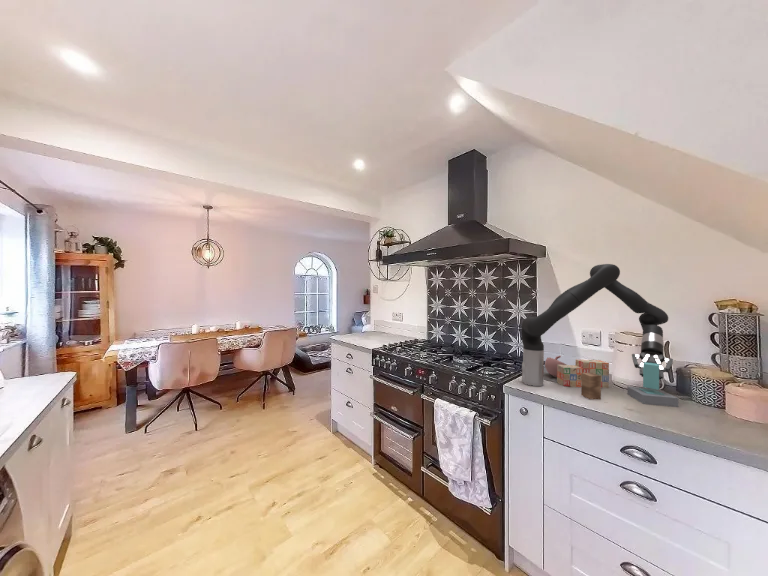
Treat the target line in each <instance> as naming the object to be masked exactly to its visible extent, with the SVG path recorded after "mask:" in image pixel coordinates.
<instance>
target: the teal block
mask: <svg viewBox="0 0 768 576" xmlns="http://www.w3.org/2000/svg"><path fill="white" fill-rule="evenodd" d="M642 388H651V389H656V390H659V389H660V380H659V364H656V363H648V362H646V363H645V362H644V363H643V377H642Z"/></svg>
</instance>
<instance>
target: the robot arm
mask: <svg viewBox="0 0 768 576" xmlns="http://www.w3.org/2000/svg"><path fill="white" fill-rule="evenodd" d="M620 275H621V270H620V268H619V267H618V266H617V265H616V264H613V263H603V264H602V263H601V264H597V265H594V266H593V267H591V269H590V270H589V277H590V278H588V279H586V280H584V281H582V282H580V283H578V284H576V285H574V286H572V287H570V288H568V289H567V290H565V291H564V292H562V293H561V294H560V295H558V296H557V297H556V298H555V299H554V300H553V301H552V302H551V304H550V306H549V307H548V308H547V309H546V310H545V311H543V312H542V313H541V314H539V315H537V316H528V317H526V318H524V319H523V321H522V324H521V342H522V347H523V352H522V353H523V355H522V360H523V361H522V362H521V381H522V383H523V382H524V383H523V384H524V385H527V384H528V385H529V386H531V385H533V386H532V387H543V386H544V385H545V384H544V383H545V380H544V376H545V375H544V374H545V373H544V371H545V369H544V368H545V361H544V359H545V358H544V357H545V356H544V355H545V350H544V349H545V347H544V346H545V345H544V343H543V342H542V336H543V335H544V334H545V333H547V331H549V329H551V328H552V327H553V326H554V325H555V324H556V323H557V322H559V321H560V320H561V319H563V318H564V317H566V316H567V315H569V314H570V313H572V312H573V311H575V310H576V309H577V308H578V307H580V306H581V305H583V304H584V303H585V302H586V301H588V300H589V299H590V298H592V296H594V295H595V294H596V293H598V292H600V291H601V290H602V289H605V290H607V291H608V292H610V293H612V294H613V295H614V296H615V297H616V298H617V299H619V300H620V301H621V302H622V303H623V304H625V305H626V306H627V307H628V308H629V309H630V310H632V311H633V312H634V313H636V314H640V316H638V320H639V321H638V322H639V324H640V326H641V329H642V337H641V342H640V343H641V346H640V353H639V354H635V353H632V354H631V359H632V362H633V365H634V368H636V369H638V370H639V371H638V372H639V376H641V377H642V378H643V363H644V362H645V363H646V362H648V363H656V364H659V381H661V380H663V379H664V373H670V371H671V369H672V366H673V364H674V359H673V358H672V357H670V358H667V357H665V356H664V348H665V346H664V345H665V344H664V343H665V342H664V332H663V331H664V330H663V328H662V327H661V325H663V324H664V325H665V324H666V323H667V322H668V321H669V315H668V313H666V312H665V311H664V310H663V309H662V308H660V307H658V306H656V305H654V304H652V303H650V302H648V301H647V300H646V299H645V298H644V297H643V296H642V295H641V294H639V293H638V292H636V291H634V290H633V289H631V288H630V287H627V286H626V285H624V284H623V283H621V282H620V281H618V279H619V278H620ZM659 325H660V326H659ZM639 359H640V360H641V363H640V364H639V362H638V360H639ZM664 362H665V364H666V366H665V367H663V365H662V364H663V363H664Z"/></svg>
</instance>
